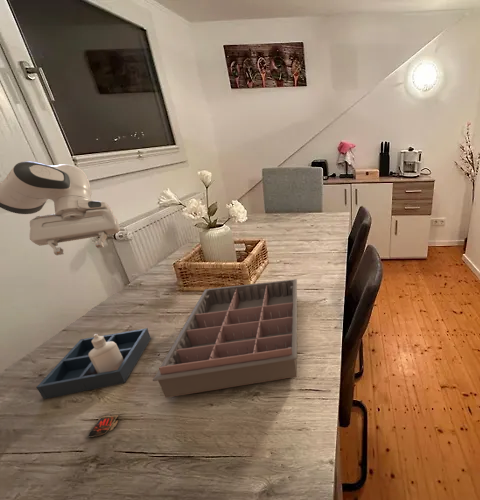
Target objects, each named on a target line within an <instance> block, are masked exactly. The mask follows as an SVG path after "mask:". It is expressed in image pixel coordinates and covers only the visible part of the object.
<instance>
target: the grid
mask: <svg viewBox="0 0 480 500" xmlns="http://www.w3.org/2000/svg"><path fill="white" fill-rule="evenodd" d="M102 336H103V337H104V339H105V341H106V342H110V341H113V342H115V343H116V345H117V346H118V348H119V351H120V353H121V355H122V357H123V359H124V361H123V362H122V364H121V365H120V367H119V368H118V370H114V371H109V372H103V373H97V371H96V369H95V367H94V366H93V364H92V362H91V360H90V358H89V355H88V354H89V352H90V351H91V350H92V349H93V348H94V346H93V344H92V342H91V341H92V340H93V339H94V336H91V337H87V338H81V339H80V340H79V341H77V343H76V344H75V345H74V346H73V347H72V348H71V349H70V350H69V351H68V353H66V355H65V356H63V358H62V359H61V360H60V361H59V362H58V363H57V364H56V365H55V366H54V367H53V368H52V370H51V371H50V372H49V373H48V374H47V375H46V376H45V377H44V378H43V379H42V381H41V382H39V384H38V385H37V386H36V390H37V391H38V393H39V394H40V396H41V397H42V399H43V400H47V399H52V398H57V397H61V396H67V395H72V394H77V393H82V392H87V391H91V390H97V389H102V388H106V387H111V386H116V385H122V384H125V383H126V382H127V380H128V379H129V377H130V376H131V374H132V373H133V370H134V369H135V366H136V365H137V363H138V361H139V360H140V358H141V356H142V355H143V353H144V351H145V350H146V348H147V346H148V345H149V343H150V341H151V339H152V336H151V334H150V332H149V329H148V328H146V327H145V328H141V329H135V330H128V331H122V332H117V333H111V334H104V335H102Z"/></svg>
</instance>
